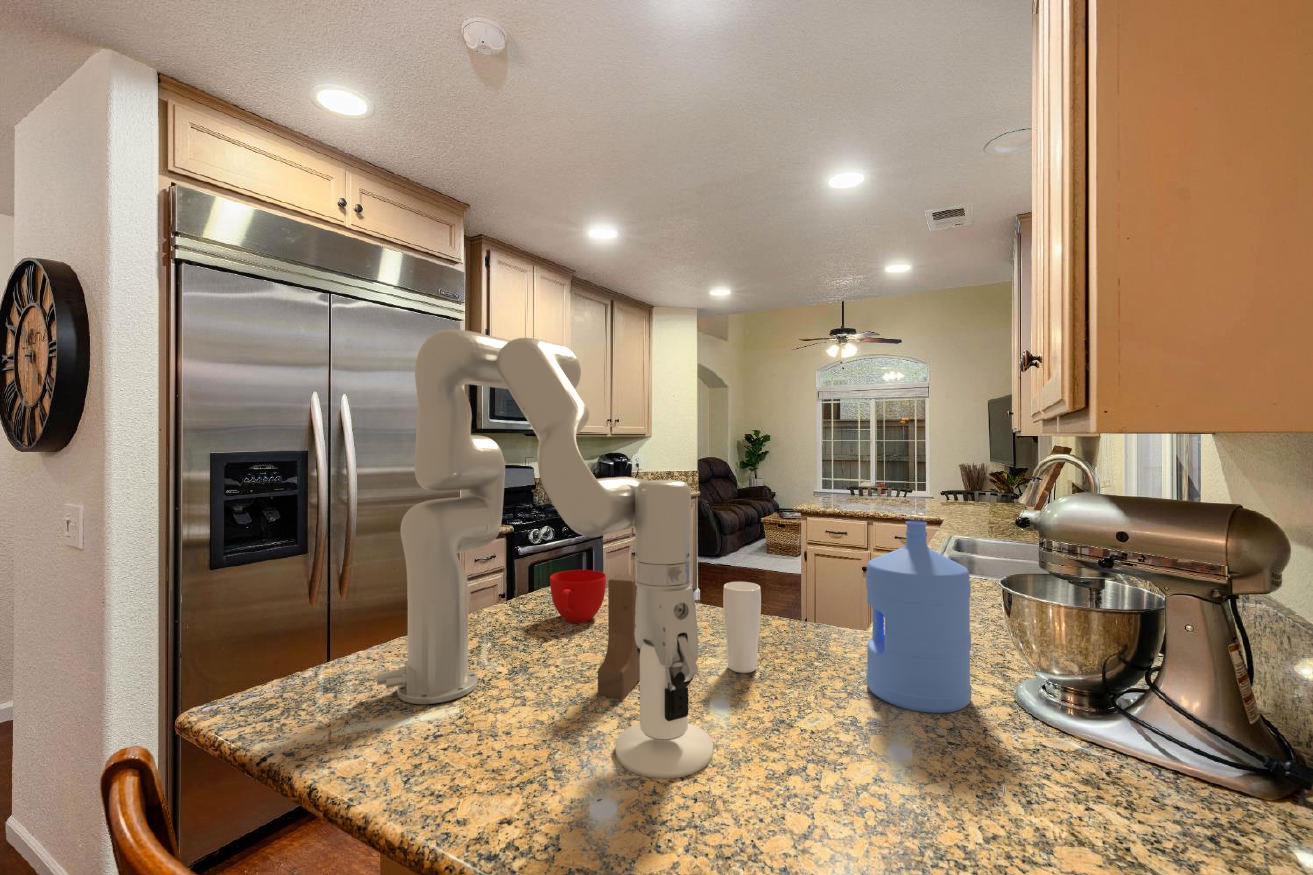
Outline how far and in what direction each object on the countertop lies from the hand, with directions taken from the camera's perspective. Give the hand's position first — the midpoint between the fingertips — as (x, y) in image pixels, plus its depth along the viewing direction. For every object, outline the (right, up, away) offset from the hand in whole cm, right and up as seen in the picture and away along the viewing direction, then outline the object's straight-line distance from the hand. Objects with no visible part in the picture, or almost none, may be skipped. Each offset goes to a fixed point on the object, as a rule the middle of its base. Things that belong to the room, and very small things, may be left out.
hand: (663, 705), depth 78 cm
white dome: (0, -6, 0) cm, 6 cm away
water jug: (+42, -6, +17) cm, 46 cm away
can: (0, -3, 0) cm, 3 cm away
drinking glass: (+15, -6, +28) cm, 32 cm away
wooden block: (-7, -6, +20) cm, 22 cm away
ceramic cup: (-20, -7, +56) cm, 60 cm away
